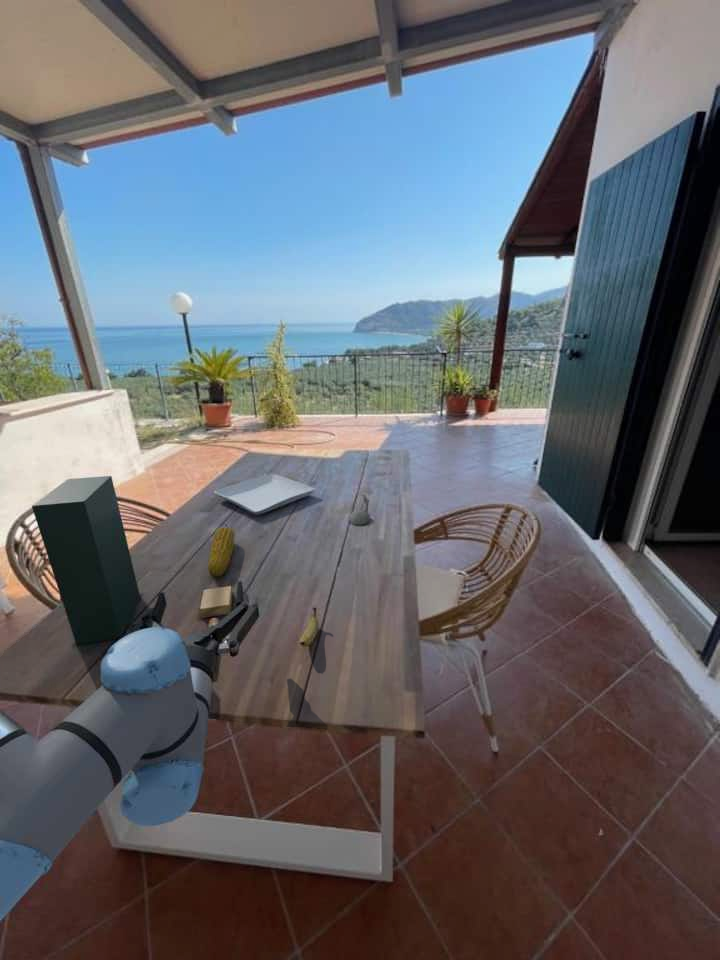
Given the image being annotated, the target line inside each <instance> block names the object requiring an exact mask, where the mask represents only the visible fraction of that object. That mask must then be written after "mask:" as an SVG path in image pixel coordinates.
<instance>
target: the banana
mask: <svg viewBox="0 0 720 960" xmlns="http://www.w3.org/2000/svg"><path fill="white" fill-rule="evenodd" d="M312 610H313V615H312V617H311V619H310V621H309V623H308V625H307V626H306V628H305V630H303V631H304V632H303V634H302V635H301V637H300V638H299V640H298V643H299V644H300V645H301V646H303V647H309V646H310V645H311V644H312V643H313V641H314V640H315V638H316V636H317V633H318V630H319V620H318V618H317V607H313V608H312Z"/></svg>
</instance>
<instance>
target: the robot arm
mask: <svg viewBox="0 0 720 960" xmlns="http://www.w3.org/2000/svg"><path fill="white" fill-rule="evenodd" d="M236 584H237V585H236V598H235V603H236V604H235V605H236V607H235V608H234V609H233V610H231V613H229V614H226V616H224V617H223V618H222V619H221V620H219V623H217V624H216V625H212V626H210V627H209V628H208V627H207V628H206V629H205V630H199V631H195V632H192V633H191V632H190V633H189V632H187V633H181V635H180V634H179V633H177V632H176V631H175V630H174V629H170V628H166V627H163V626H161V623H162V621H163V618H164V614H165V610H166V608H167V599H166V595H165V592H164V591H163V592H159V593H158V596H157V598H156V601H155V604H154V607H151V608H149V609H147V612H146V613H145V614H143V615H141V622H137V621H134V622H131V623H129V625H128V628H129V632H130V633H129V634H127V635H125V636H123V637H121V638H119V640H117V641H116V642H114V643H113V644H112V645H111V646H110V647H109V648H108V650H107V652H106V654H105V656H104V657H103V658H102V660H101V662H100V682H101V686H99V688H98V689H96V690H95V692H93V693H92V694H90V695H89V696H88V697H87V698H86V700H84V701H83V702H82V703H80V705H78V706H77V707H76V708H75V709H74V710H72V712H70V714H69V715H67V716H66V717H65V718H64V719H63V720H61V722H59V723H58V724H57V725H55V727H53V729H51V730H50V731H49V732H48V733H46V735H44V736H43V737H42V738H41V739H37V738H35V737H34V736H32V735H31V734H30V733H28V732H27V731H26V730H25V728H23V726H21V724H19V723H18V722H17V721H15V720H14V719H13V718H12V717H11V716H10V715H8V714H7V713H6V712H5V711H4V710H3V709H2V708H0V922H1V921H2V920H3V919H4V918H5V916H7V915H8V913H10V911H11V910H12V909H13V908H14V907H15V905H16V904H17V903H18V902H19V901H20V900H21V899H22V898H23V897H24V896H25V895H26V894H27V892H28V891H29V890H30V889H31V888H32V887H33V885H34V884H35V883H36V882H37V881H38V880H39V879H40V878H41V876H42V875H46V874H47V873H48V871H50V869H51V868H52V866H53V862H54V861H55V860H56V858H58V856H59V855H60V854H61V853H62V852H63V850H64V849H65V848H66V847H67V845H68V844H69V843H70V842H71V841H72V840H73V838H74V837H75V836H76V835H77V833H78V832H79V831H80V830H81V829H82V828H83V826H84V825H85V824H86V823H87V821H88V820H89V819H90V818H91V817H92V815H93V814H94V813H95V812H96V811H97V810H98V808H100V806H101V804H102V803H103V802H104V801H105V800H106V798H108V797H109V795H110V794H111V793H112V791H114V790H115V788H116V787H117V786H118V784H120V783H121V781H122V780H123V782H122V792H121V797H120V802H119V804H120V805H119V806H120V807H119V809H120V812H121V814H122V815H123V817H124V819H126V820H127V821H128V822H130V823H132V824H134V825H136V826H142V827H157V826H158V827H159V826H161V825H164V824H168V823H172V822H174V821H176V820H178V819H180V818H182V817H183V816H184V815H186V814H187V813H188V812H189V811H190V810H191V809H192V808H193V806H194V805H195V803H196V801H197V799H198V796H199V791H200V787H201V782H202V777H203V773H204V772H205V766H204V760H205V751H206V741H207V733H208V724H209V715H210V707H211V702H212V701H211V700H212V693H213V683H214V675H215V669H216V661H217V658H218V657H219V656H220V655H221V654H228V653H229V656H230V657H231V658H235V657H236V656H238V655H239V651H240V646H241V644H242V643H243V641H244V640H245V639H246V637H247V636H248V634H249V632H250V631H251V629H252V628H253V627H254V625H255V624H256V622H257V621H258V620H259V618H260V610H259V609H260V607H259V604H258V602H253V603H251V604H250V599H249V593H244V589H243V588H244V587H243V580H238V581H237V583H236ZM211 636H212V637H211ZM224 639H225V640H224ZM223 640H224V642H223Z"/></svg>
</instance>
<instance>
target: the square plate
mask: <svg viewBox="0 0 720 960" xmlns="http://www.w3.org/2000/svg"><path fill="white" fill-rule="evenodd" d="M315 490H316V488H315V487H312V486H309V485H307V484H305V483H302V482H299V481H296V480H294V479H291V478H288V477H284V476H281V475H278V474H274V473H269V474H266V475H261V476H258V477H254V478H250V479H248V480H247V479H246V480H244V481H241V482H238V483H235V484H232V485H229V486H226V487H223V488H220V489H217V490H214V491H213V494H215V495H216V496H217V497H219V498H221V499H223V500H225V501H227V502H229V503H231V504H234V505H236V506H238V507H239V508H242V510H245V511H247V512H249V513H251V514H253V515H255V516H256V515H257V516H259V515H263V514H266V513H267V512H271V511H274V510H275V509H279V508H281V507H283V506H286V505H288V504H289V505H290V504H291V503H293V502H296V501H298V500H301V499H304V498H306V497H307V496H310V495H311V494H312V493H313V492H315Z"/></svg>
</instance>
